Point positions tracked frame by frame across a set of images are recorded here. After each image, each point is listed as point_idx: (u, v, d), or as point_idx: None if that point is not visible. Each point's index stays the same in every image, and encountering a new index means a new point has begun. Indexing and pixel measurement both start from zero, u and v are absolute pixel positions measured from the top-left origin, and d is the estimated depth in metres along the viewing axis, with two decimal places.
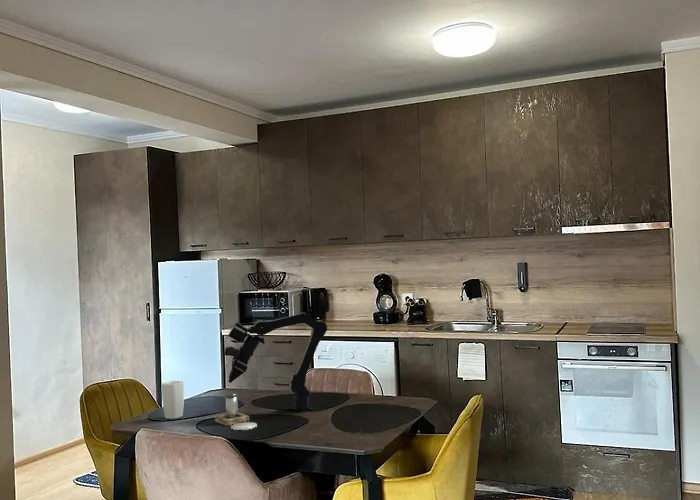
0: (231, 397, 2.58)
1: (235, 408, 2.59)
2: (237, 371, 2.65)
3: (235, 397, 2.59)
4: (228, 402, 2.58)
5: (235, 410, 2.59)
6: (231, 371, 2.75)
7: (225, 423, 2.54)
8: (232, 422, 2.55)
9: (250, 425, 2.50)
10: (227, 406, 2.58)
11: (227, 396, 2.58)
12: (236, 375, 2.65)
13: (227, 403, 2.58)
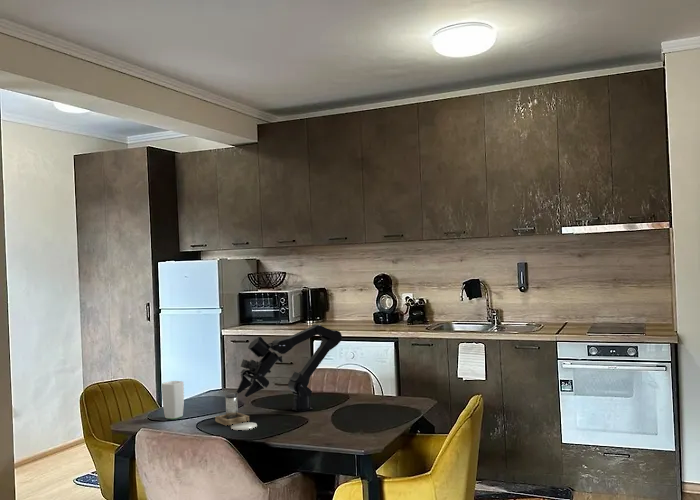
0: (231, 397, 2.58)
1: (235, 408, 2.59)
2: (256, 386, 2.59)
3: (235, 397, 2.59)
4: (228, 402, 2.58)
5: (235, 410, 2.59)
6: (240, 385, 2.67)
7: (225, 423, 2.54)
8: (232, 422, 2.55)
9: (250, 425, 2.50)
10: (227, 406, 2.58)
11: (227, 396, 2.58)
12: (254, 390, 2.59)
13: (227, 403, 2.58)
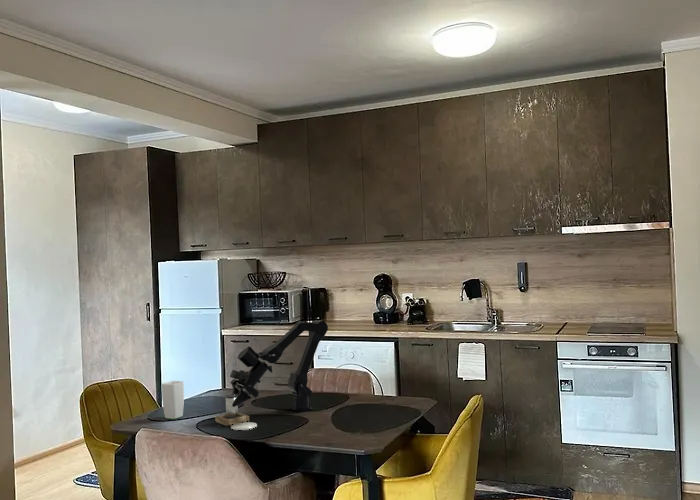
0: (231, 397, 2.58)
1: (235, 408, 2.59)
2: (243, 396, 2.59)
3: (235, 397, 2.59)
4: (228, 402, 2.58)
5: (235, 410, 2.59)
6: None
7: (225, 423, 2.54)
8: (232, 422, 2.55)
9: (250, 425, 2.50)
10: (227, 406, 2.58)
11: (227, 396, 2.58)
12: (242, 400, 2.58)
13: (227, 403, 2.58)
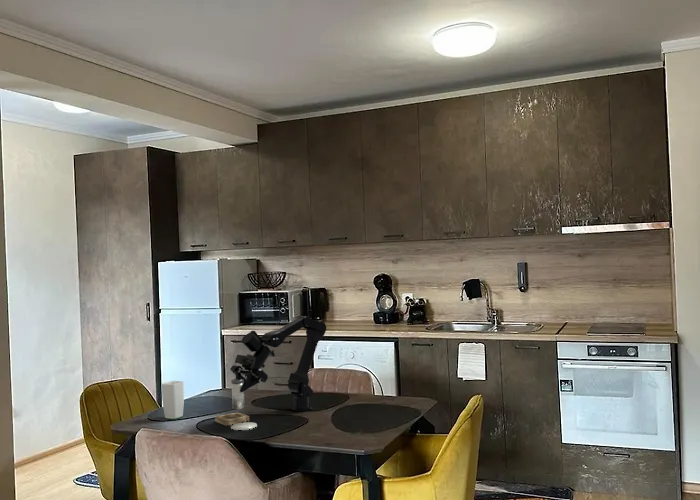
0: (239, 382, 2.51)
1: (242, 394, 2.52)
2: (251, 381, 2.53)
3: (242, 382, 2.52)
4: (236, 387, 2.51)
5: (242, 396, 2.52)
6: None
7: (225, 423, 2.54)
8: (232, 422, 2.55)
9: (250, 425, 2.50)
10: (234, 392, 2.51)
11: (234, 382, 2.51)
12: (250, 385, 2.52)
13: (234, 389, 2.51)
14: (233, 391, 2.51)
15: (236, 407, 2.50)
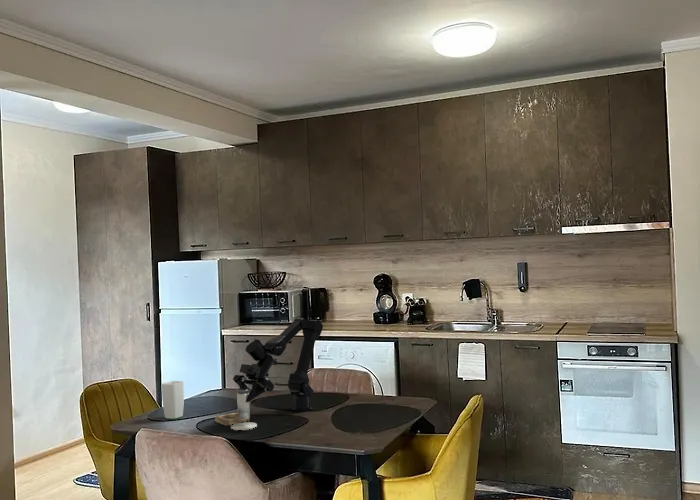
0: (245, 392, 2.48)
1: (248, 403, 2.49)
2: (256, 390, 2.51)
3: (248, 392, 2.50)
4: (242, 397, 2.48)
5: (248, 405, 2.49)
6: None
7: (225, 423, 2.54)
8: (232, 422, 2.55)
9: (250, 425, 2.50)
10: (240, 402, 2.48)
11: (240, 391, 2.48)
12: (255, 394, 2.50)
13: (240, 399, 2.48)
14: (239, 401, 2.48)
15: (242, 417, 2.48)
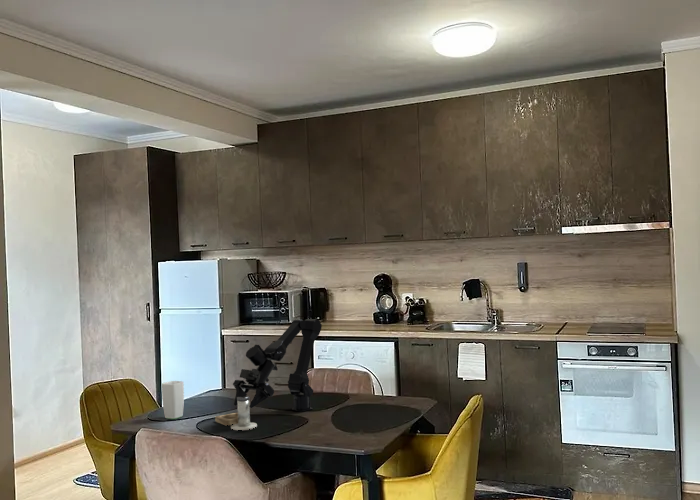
0: (245, 400, 2.48)
1: (248, 411, 2.49)
2: (260, 396, 2.49)
3: (248, 400, 2.50)
4: (242, 405, 2.48)
5: (249, 413, 2.49)
6: None
7: (225, 423, 2.54)
8: (232, 422, 2.55)
9: (250, 425, 2.50)
10: (241, 410, 2.48)
11: (241, 399, 2.48)
12: (259, 400, 2.49)
13: (241, 406, 2.48)
14: (239, 409, 2.48)
15: (242, 425, 2.48)
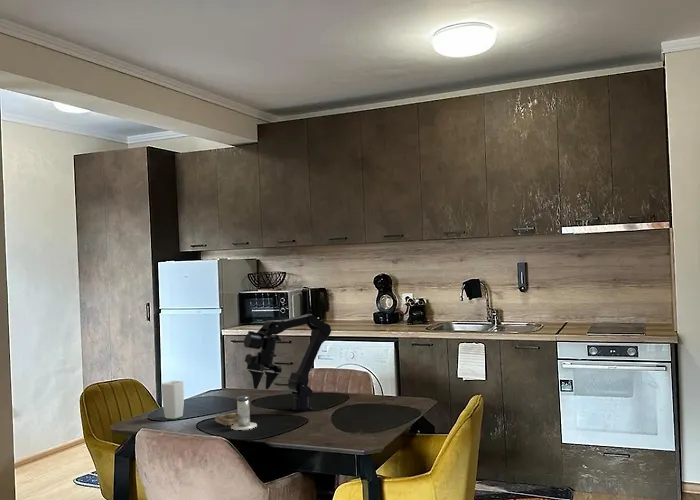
0: (245, 400, 2.48)
1: (248, 411, 2.49)
2: (257, 374, 2.59)
3: (248, 400, 2.49)
4: (242, 405, 2.48)
5: (248, 413, 2.49)
6: (266, 381, 2.69)
7: (225, 423, 2.54)
8: (232, 422, 2.55)
9: (250, 425, 2.50)
10: (240, 410, 2.48)
11: (241, 399, 2.48)
12: (257, 378, 2.59)
13: (241, 407, 2.48)
14: (239, 409, 2.48)
15: (242, 425, 2.48)
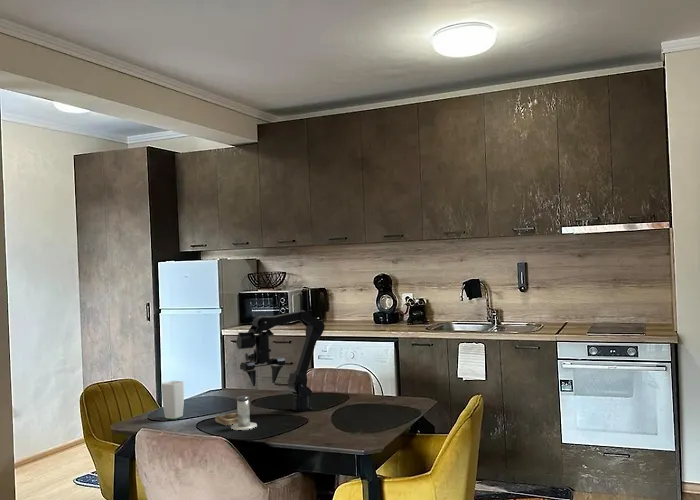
0: (245, 400, 2.48)
1: (248, 411, 2.49)
2: None
3: (248, 400, 2.49)
4: (242, 405, 2.48)
5: (248, 413, 2.49)
6: (272, 375, 2.70)
7: (225, 423, 2.54)
8: (232, 422, 2.55)
9: (250, 425, 2.50)
10: (240, 410, 2.48)
11: (241, 399, 2.48)
12: (252, 377, 2.63)
13: (240, 407, 2.48)
14: (239, 409, 2.48)
15: (242, 425, 2.48)
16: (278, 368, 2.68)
